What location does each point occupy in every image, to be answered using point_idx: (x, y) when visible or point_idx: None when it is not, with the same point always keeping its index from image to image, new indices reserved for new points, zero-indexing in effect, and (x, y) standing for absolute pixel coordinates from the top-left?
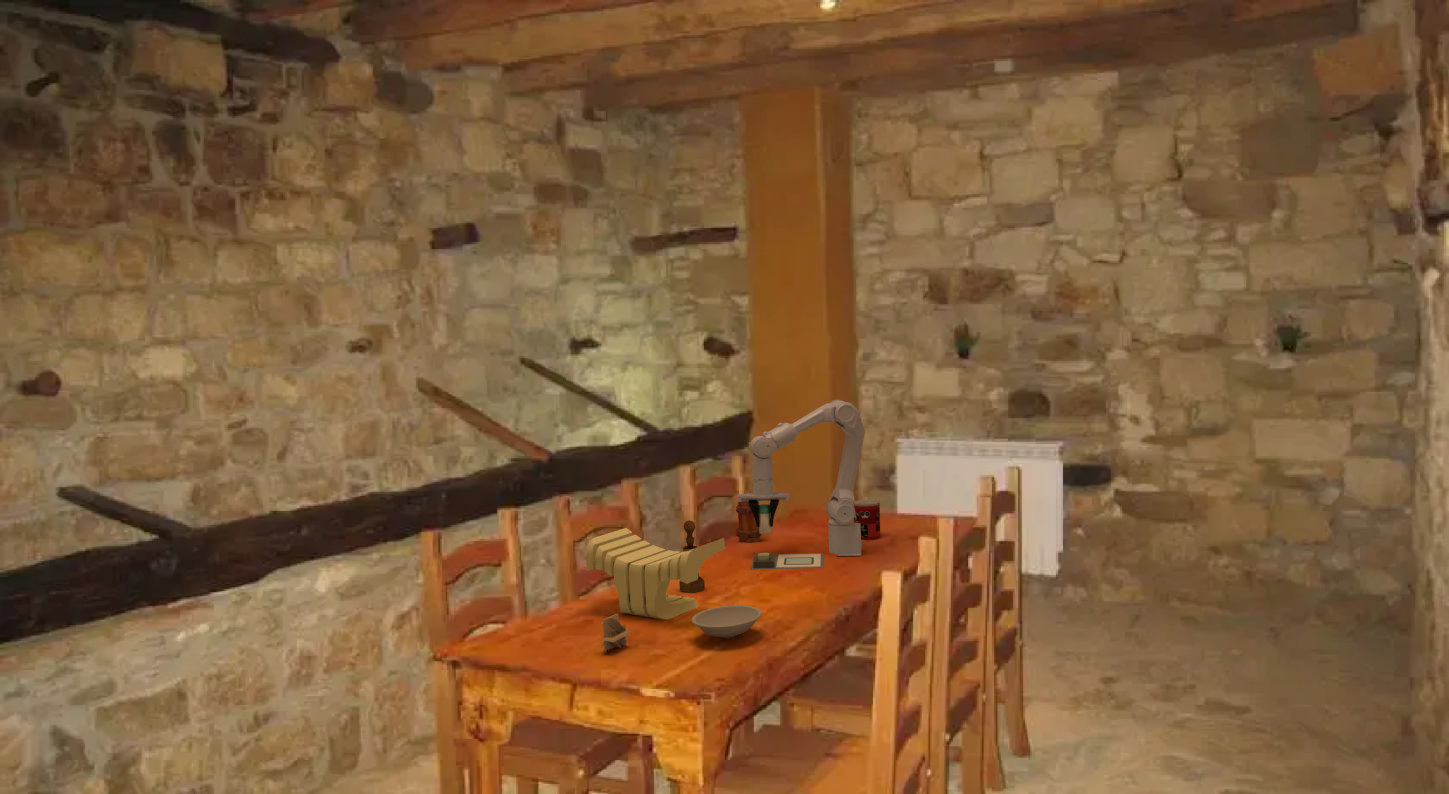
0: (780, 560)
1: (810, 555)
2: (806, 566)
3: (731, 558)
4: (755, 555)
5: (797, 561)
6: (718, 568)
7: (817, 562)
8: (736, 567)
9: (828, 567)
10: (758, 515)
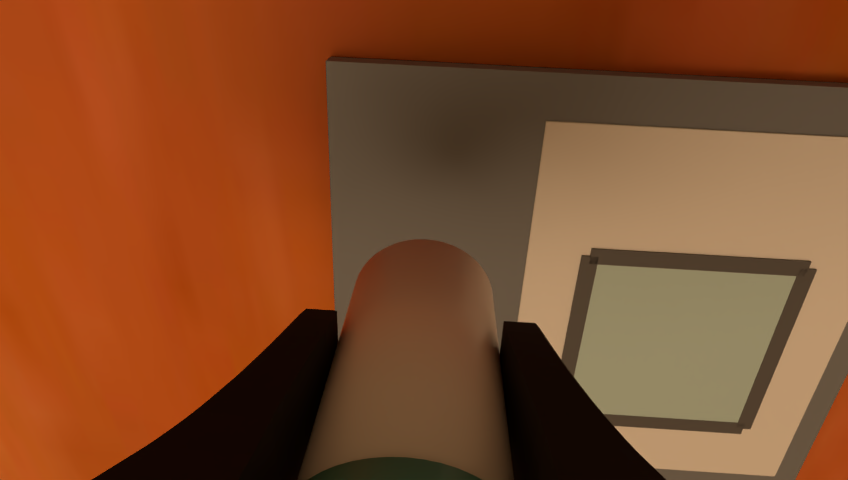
0: (540, 312)
1: (816, 193)
2: (687, 469)
3: (132, 77)
4: (337, 112)
5: (658, 361)
6: (125, 352)
7: (791, 396)
8: (238, 345)
9: (833, 421)
10: (288, 430)
